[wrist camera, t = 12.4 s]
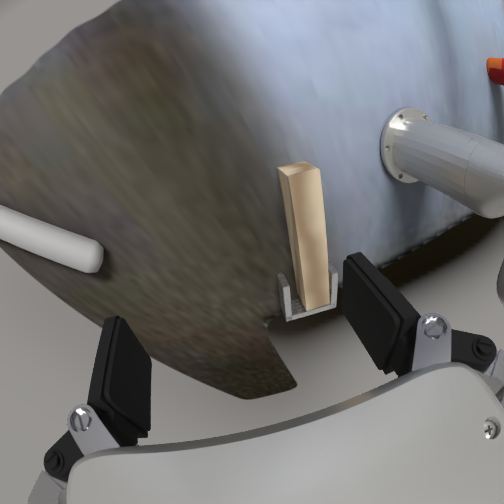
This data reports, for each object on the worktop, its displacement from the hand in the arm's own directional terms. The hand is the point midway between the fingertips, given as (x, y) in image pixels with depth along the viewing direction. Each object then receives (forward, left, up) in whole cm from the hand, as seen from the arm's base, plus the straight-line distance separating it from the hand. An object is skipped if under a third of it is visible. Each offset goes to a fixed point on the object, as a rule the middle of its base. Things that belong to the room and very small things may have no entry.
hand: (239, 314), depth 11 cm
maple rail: (-11, +13, -27) cm, 32 cm away
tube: (+27, +1, -27) cm, 38 cm away
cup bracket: (-11, +22, -26) cm, 36 cm away
